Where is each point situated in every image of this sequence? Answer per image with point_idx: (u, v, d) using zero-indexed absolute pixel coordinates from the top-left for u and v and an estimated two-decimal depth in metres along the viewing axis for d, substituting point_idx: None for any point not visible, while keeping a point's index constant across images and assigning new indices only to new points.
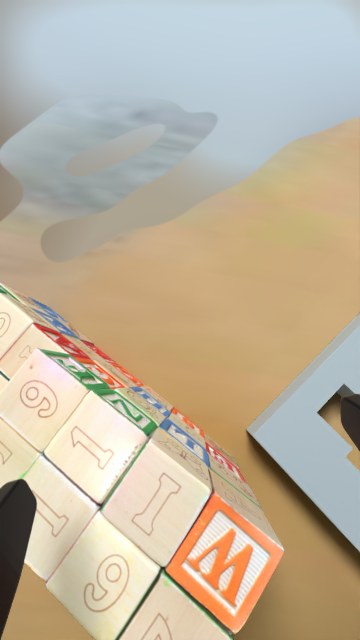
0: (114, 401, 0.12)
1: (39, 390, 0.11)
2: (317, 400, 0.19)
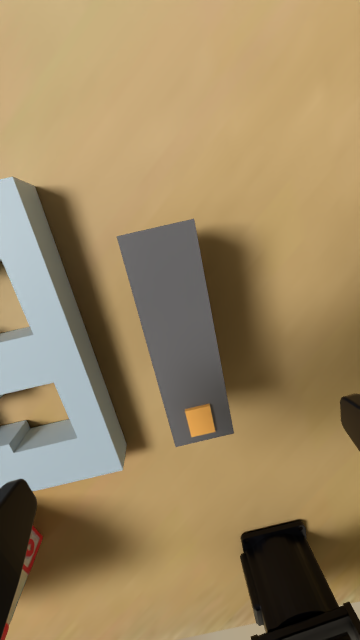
0: None
1: None
2: None
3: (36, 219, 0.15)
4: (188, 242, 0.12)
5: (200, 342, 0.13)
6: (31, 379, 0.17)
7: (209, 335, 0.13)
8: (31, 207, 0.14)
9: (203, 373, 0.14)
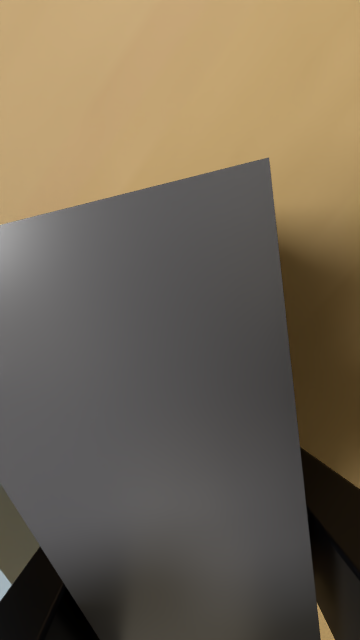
0: None
1: None
2: None
3: None
4: (233, 282, 0.02)
5: (262, 593, 0.04)
6: None
7: (292, 572, 0.04)
8: None
9: None
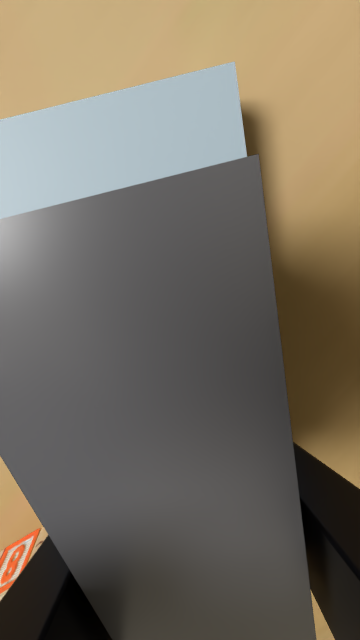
0: None
1: None
2: None
3: None
4: (227, 271, 0.03)
5: (257, 574, 0.04)
6: None
7: (285, 555, 0.04)
8: None
9: (259, 635, 0.05)
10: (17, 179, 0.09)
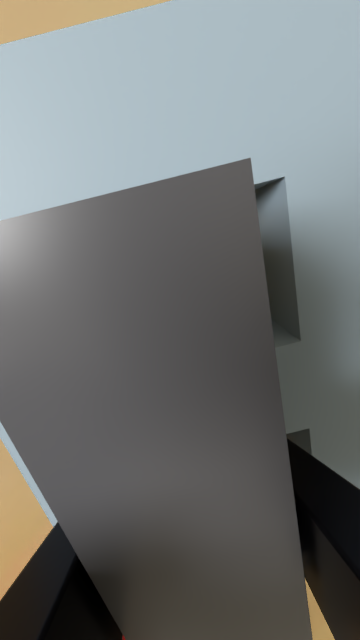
0: None
1: None
2: None
3: None
4: (222, 265, 0.03)
5: (252, 556, 0.04)
6: None
7: (280, 538, 0.04)
8: None
9: (254, 617, 0.05)
10: (30, 139, 0.06)
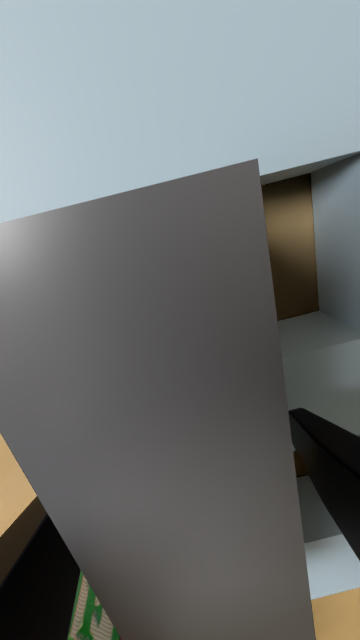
0: None
1: None
2: None
3: None
4: (227, 269, 0.03)
5: (256, 566, 0.04)
6: None
7: (284, 546, 0.04)
8: None
9: (259, 626, 0.05)
10: (92, 99, 0.05)
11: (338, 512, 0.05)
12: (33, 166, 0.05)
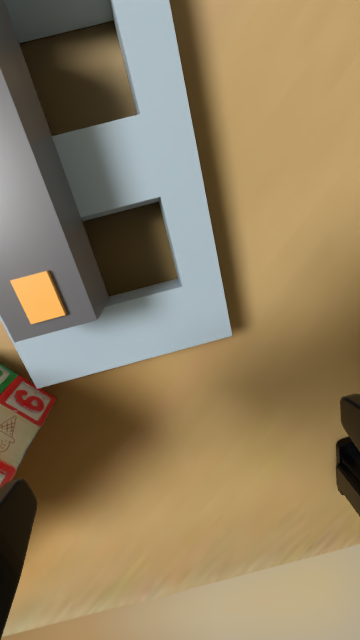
0: None
1: None
2: None
3: None
4: None
5: (8, 159, 0.09)
6: (131, 190, 0.12)
7: (19, 145, 0.08)
8: None
9: (26, 217, 0.09)
10: None
11: None
12: None
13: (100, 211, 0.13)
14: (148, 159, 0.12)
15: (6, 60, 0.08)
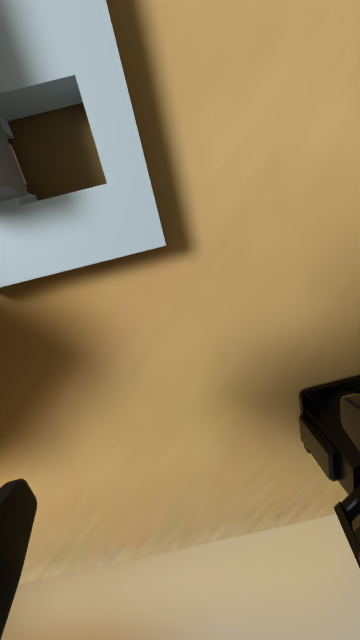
0: None
1: None
2: None
3: None
4: None
5: None
6: (43, 66, 0.12)
7: None
8: None
9: None
10: None
11: None
12: None
13: (11, 90, 0.12)
14: (58, 29, 0.11)
15: None
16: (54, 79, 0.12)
